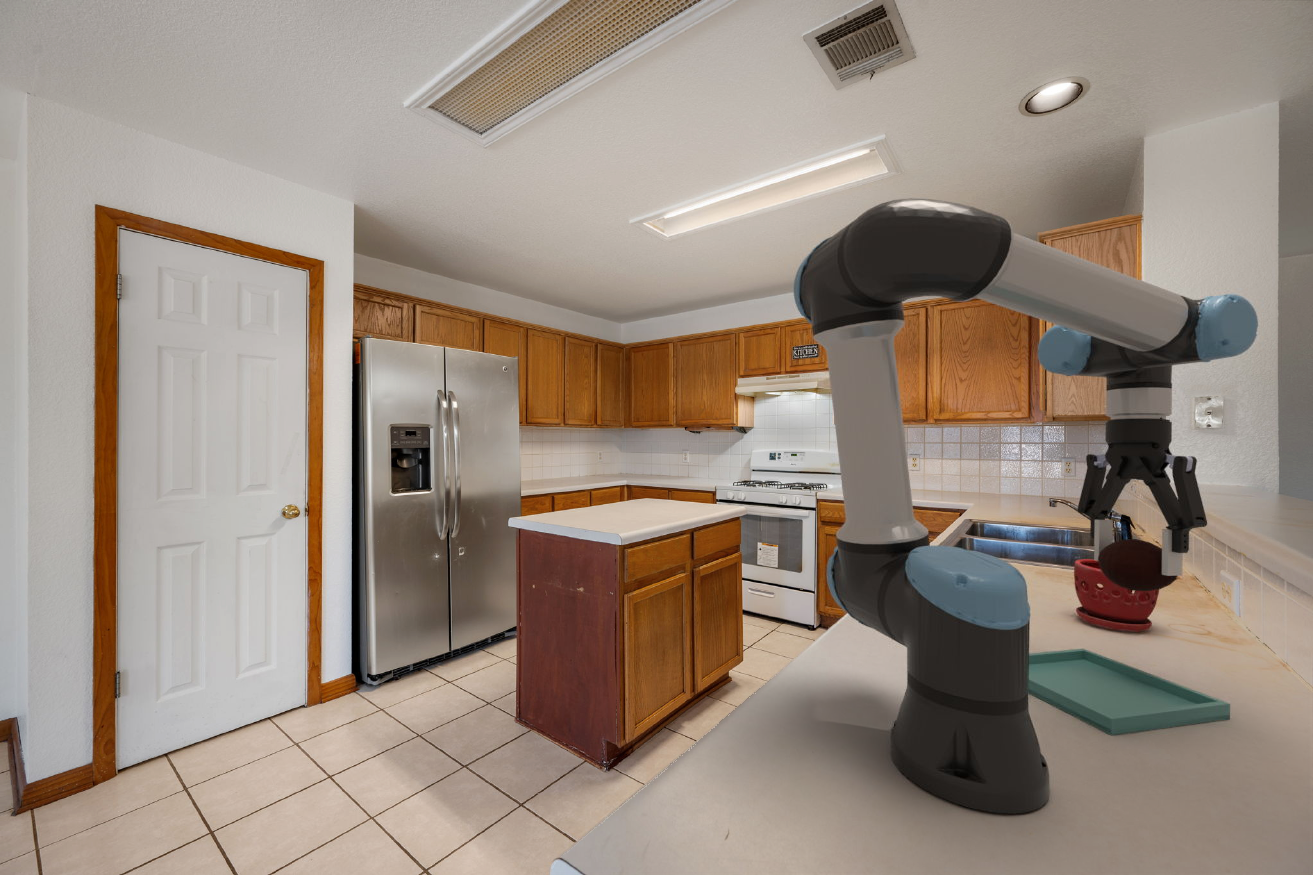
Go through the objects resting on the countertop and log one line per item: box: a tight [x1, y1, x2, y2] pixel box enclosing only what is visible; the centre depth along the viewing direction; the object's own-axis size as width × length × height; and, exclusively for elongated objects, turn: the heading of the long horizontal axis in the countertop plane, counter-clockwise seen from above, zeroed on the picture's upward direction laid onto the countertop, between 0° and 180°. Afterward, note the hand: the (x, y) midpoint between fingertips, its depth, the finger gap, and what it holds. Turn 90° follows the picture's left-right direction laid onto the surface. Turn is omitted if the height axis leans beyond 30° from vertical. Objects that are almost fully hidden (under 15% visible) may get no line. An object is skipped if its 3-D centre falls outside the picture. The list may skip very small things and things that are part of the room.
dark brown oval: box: [1098, 538, 1179, 592], centre depth 82 cm, size 8×9×8 cm
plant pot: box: [1073, 558, 1160, 633], centre depth 108 cm, size 13×13×12 cm
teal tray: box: [1028, 648, 1231, 736], centre depth 78 cm, size 20×20×2 cm
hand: (1135, 567), depth 82 cm, fingers closed on dark brown oval, 9 cm apart
